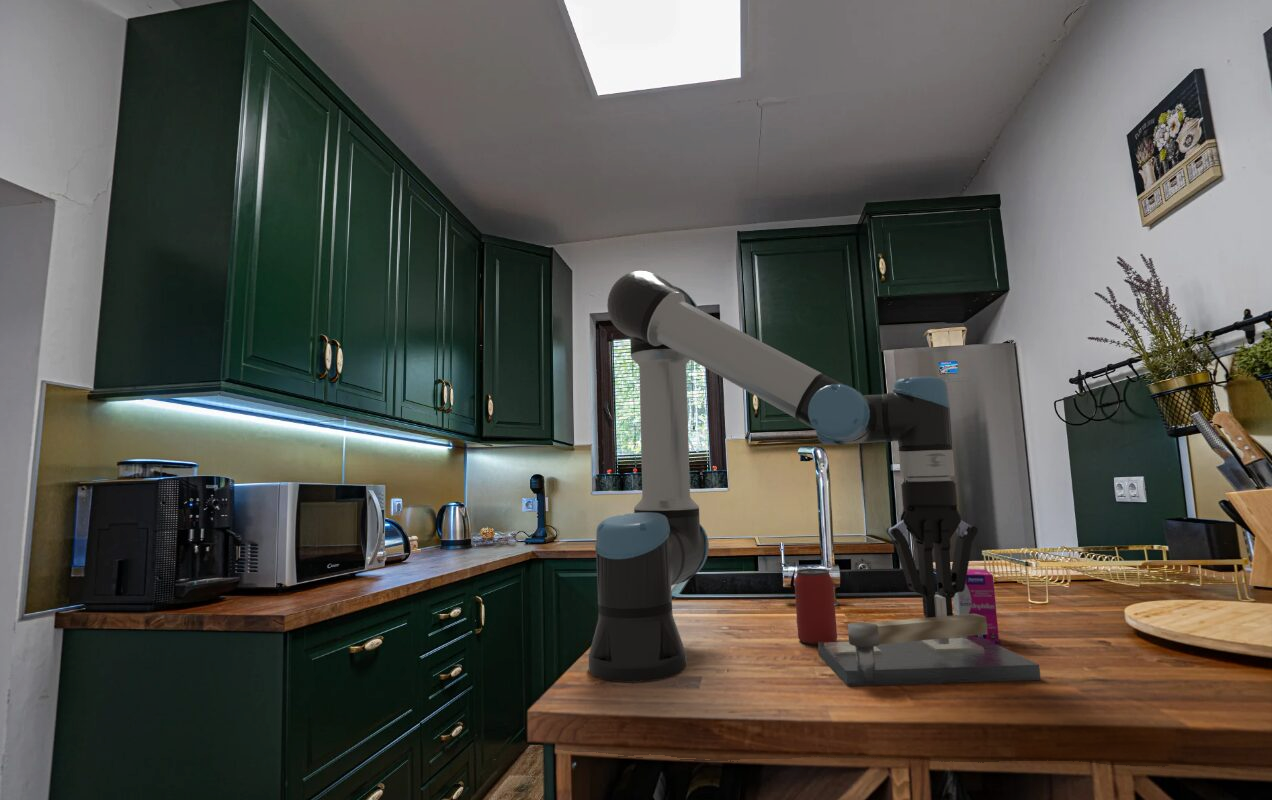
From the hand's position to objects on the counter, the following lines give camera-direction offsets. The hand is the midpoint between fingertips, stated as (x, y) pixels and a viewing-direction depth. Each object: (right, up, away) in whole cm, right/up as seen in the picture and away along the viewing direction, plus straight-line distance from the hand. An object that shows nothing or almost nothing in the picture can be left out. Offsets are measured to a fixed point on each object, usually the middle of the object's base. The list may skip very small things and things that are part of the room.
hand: (940, 641), depth 97 cm
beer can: (-13, -7, +18) cm, 23 cm away
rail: (-5, +2, -4) cm, 6 cm away
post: (-13, -4, -6) cm, 14 cm away
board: (-3, -4, +1) cm, 5 cm away
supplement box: (+13, -5, +14) cm, 20 cm away
